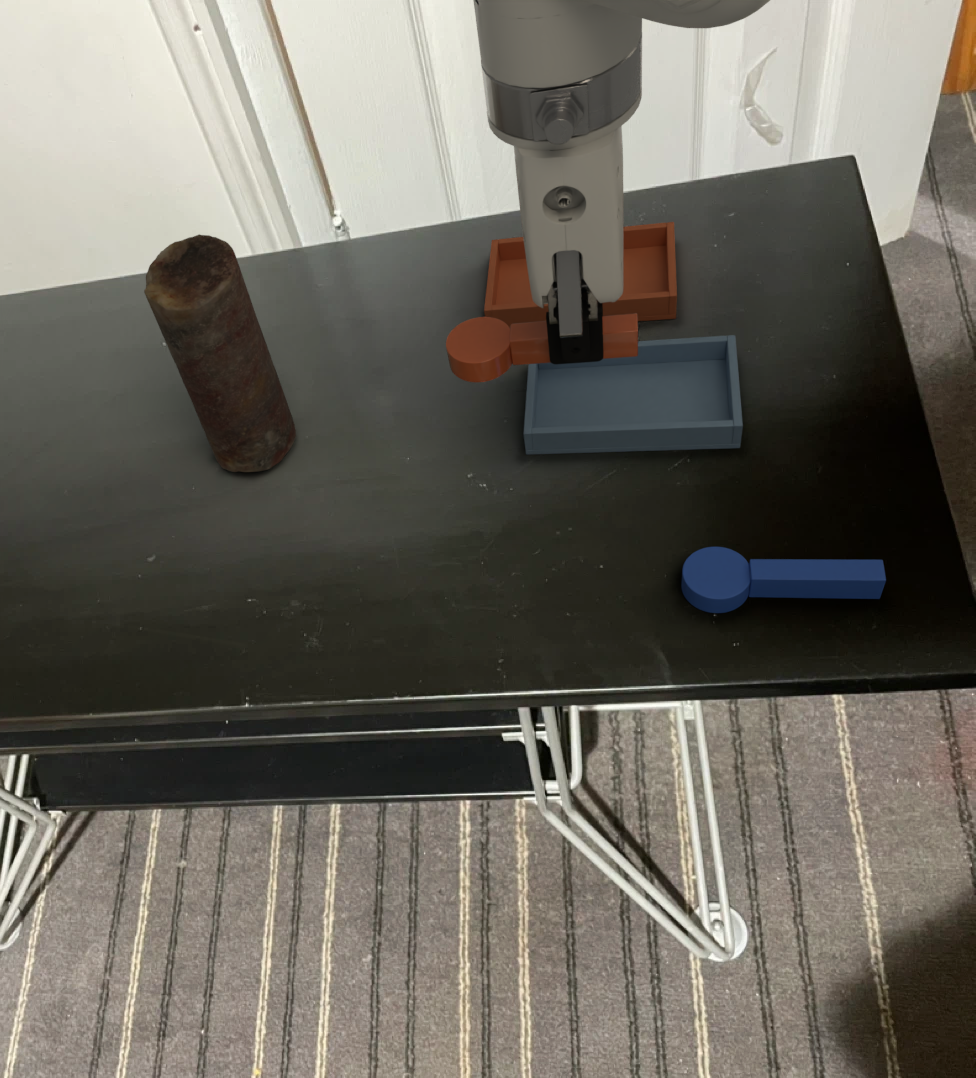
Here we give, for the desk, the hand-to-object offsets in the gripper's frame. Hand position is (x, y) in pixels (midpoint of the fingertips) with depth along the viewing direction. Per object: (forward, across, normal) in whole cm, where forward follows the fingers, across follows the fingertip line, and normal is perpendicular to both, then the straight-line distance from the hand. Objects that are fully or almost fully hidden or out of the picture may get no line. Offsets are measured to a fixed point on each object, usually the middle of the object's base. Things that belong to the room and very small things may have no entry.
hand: (576, 345), depth 65 cm
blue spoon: (+15, -8, -12) cm, 21 cm away
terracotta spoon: (+1, 0, +2) cm, 2 cm away
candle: (+15, +6, +27) cm, 31 cm away
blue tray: (+15, +8, -3) cm, 18 cm away
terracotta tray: (+15, +22, 0) cm, 27 cm away
